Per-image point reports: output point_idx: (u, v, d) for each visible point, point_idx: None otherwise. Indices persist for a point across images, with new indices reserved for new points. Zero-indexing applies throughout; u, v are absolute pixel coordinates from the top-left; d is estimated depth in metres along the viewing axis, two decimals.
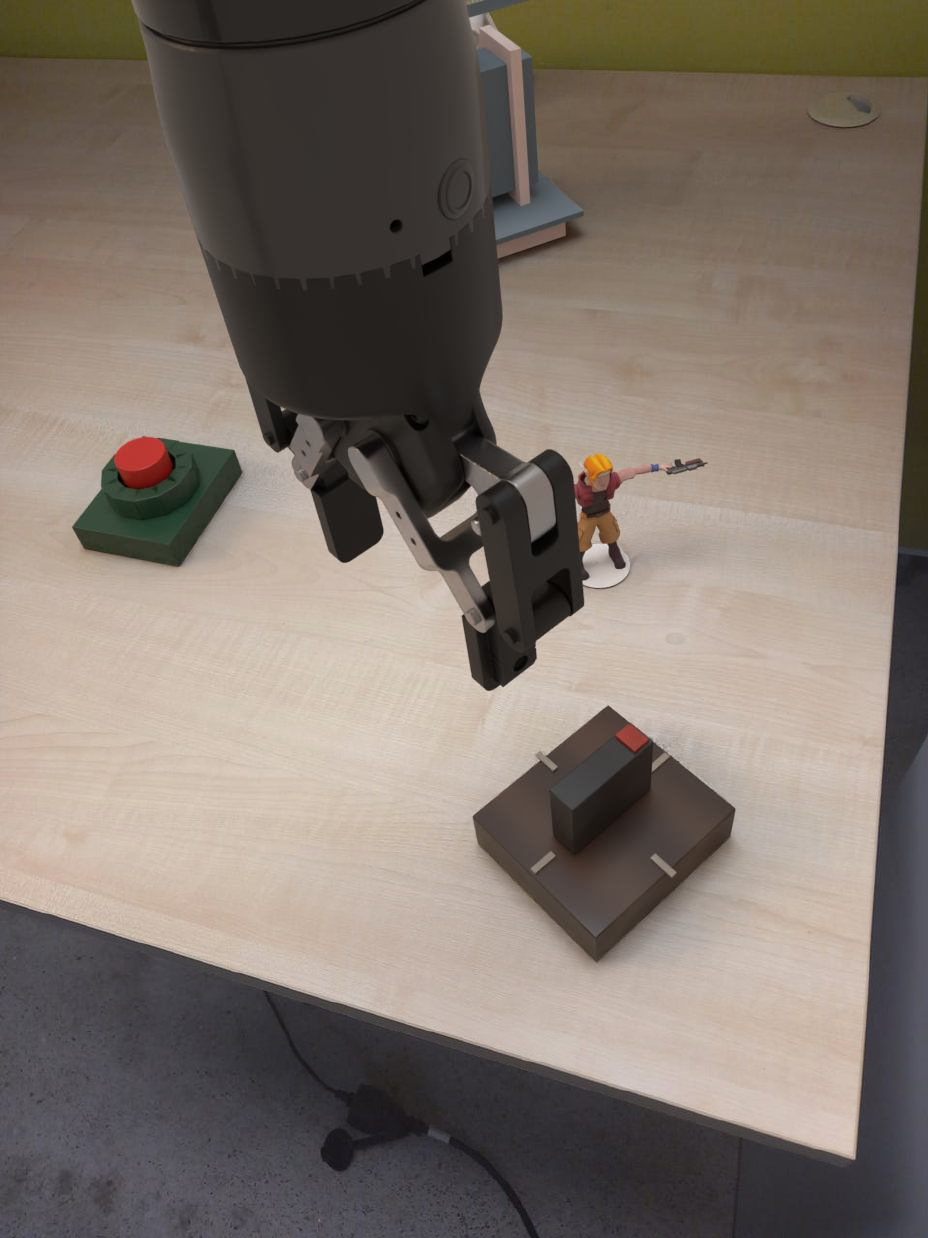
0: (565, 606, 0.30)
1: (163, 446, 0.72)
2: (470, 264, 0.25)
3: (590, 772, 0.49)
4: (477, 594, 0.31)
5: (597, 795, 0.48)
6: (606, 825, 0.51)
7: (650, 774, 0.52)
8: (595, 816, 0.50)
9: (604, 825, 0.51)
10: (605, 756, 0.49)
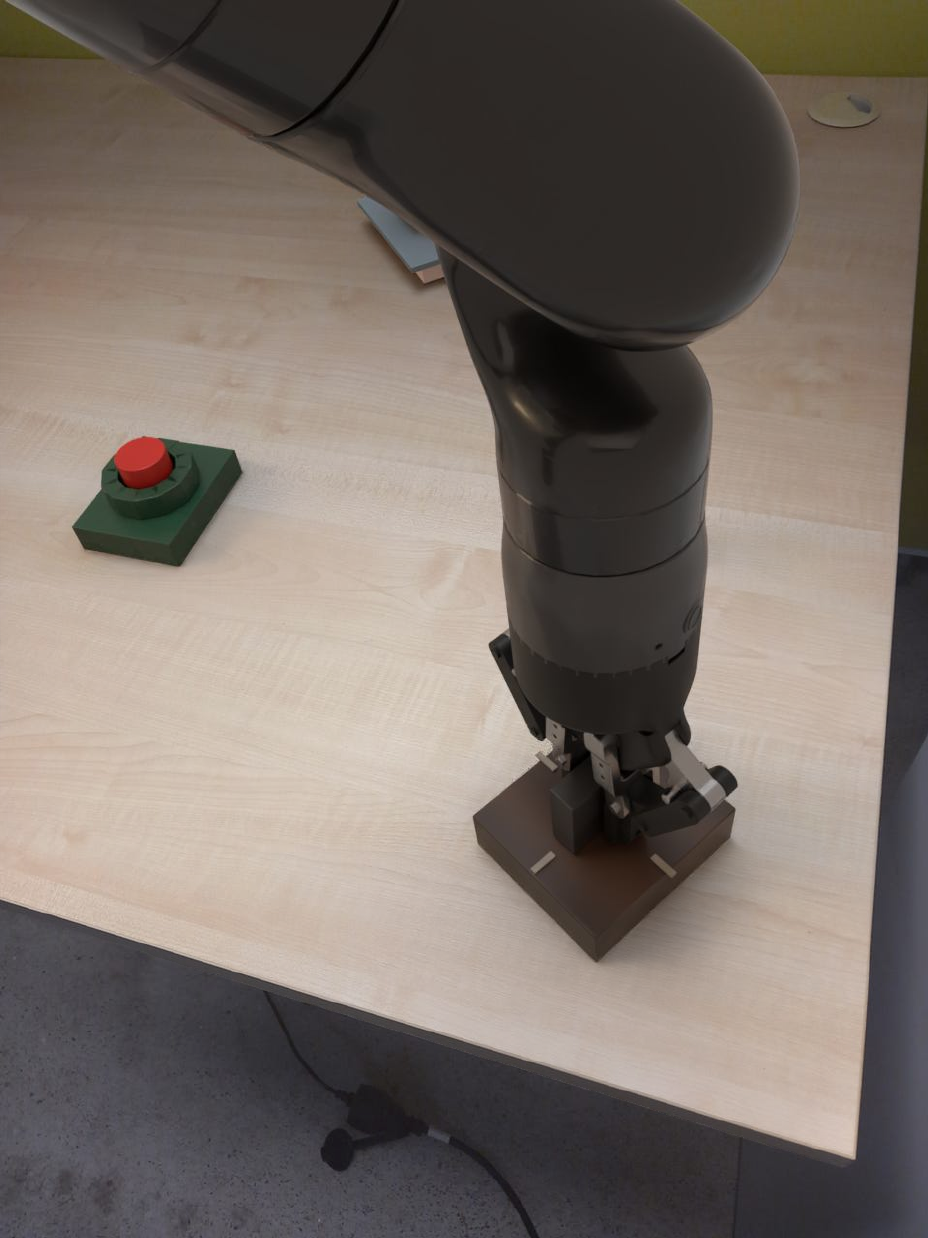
0: None
1: (163, 446, 0.72)
2: (691, 646, 0.39)
3: (590, 772, 0.49)
4: None
5: (597, 795, 0.48)
6: None
7: None
8: (595, 816, 0.50)
9: None
10: None
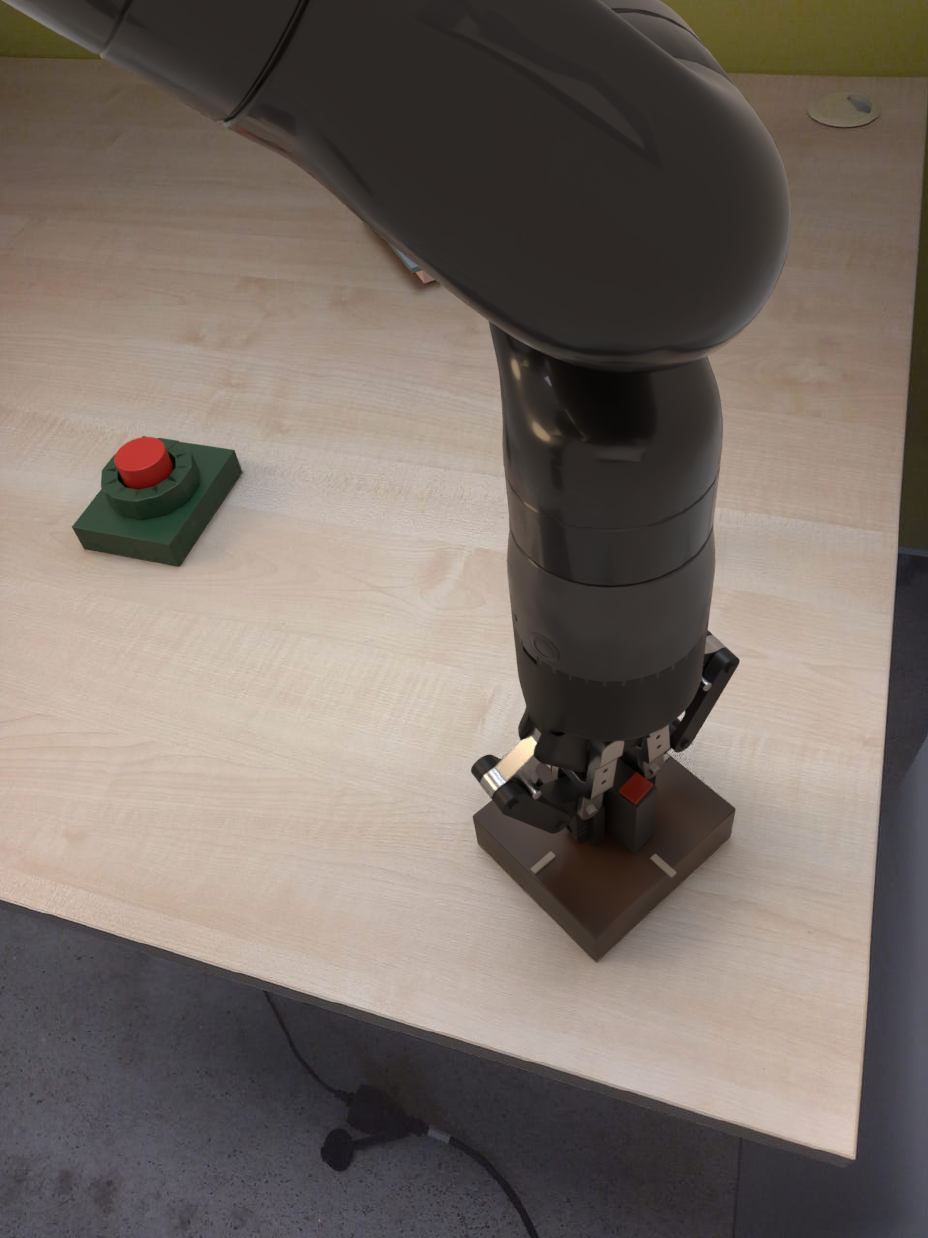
0: None
1: (163, 446, 0.72)
2: (552, 682, 0.38)
3: None
4: None
5: None
6: None
7: (633, 837, 0.49)
8: None
9: None
10: None
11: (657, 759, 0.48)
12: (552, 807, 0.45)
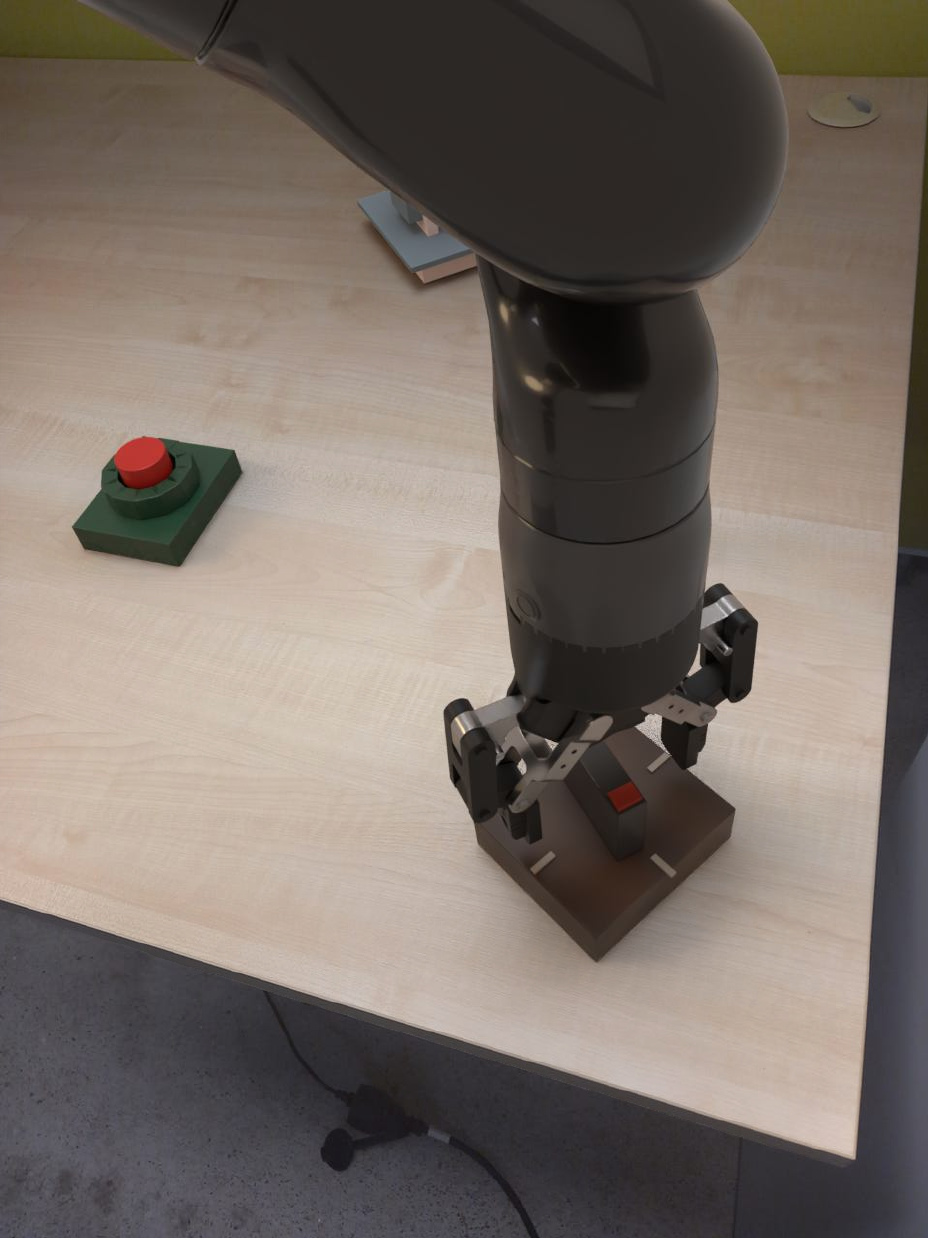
0: (467, 803, 0.44)
1: (163, 446, 0.72)
2: (535, 644, 0.38)
3: (596, 753, 0.49)
4: None
5: None
6: (583, 808, 0.52)
7: (615, 844, 0.49)
8: (575, 776, 0.51)
9: (582, 804, 0.52)
10: (610, 770, 0.49)
11: (709, 706, 0.46)
12: (496, 785, 0.43)
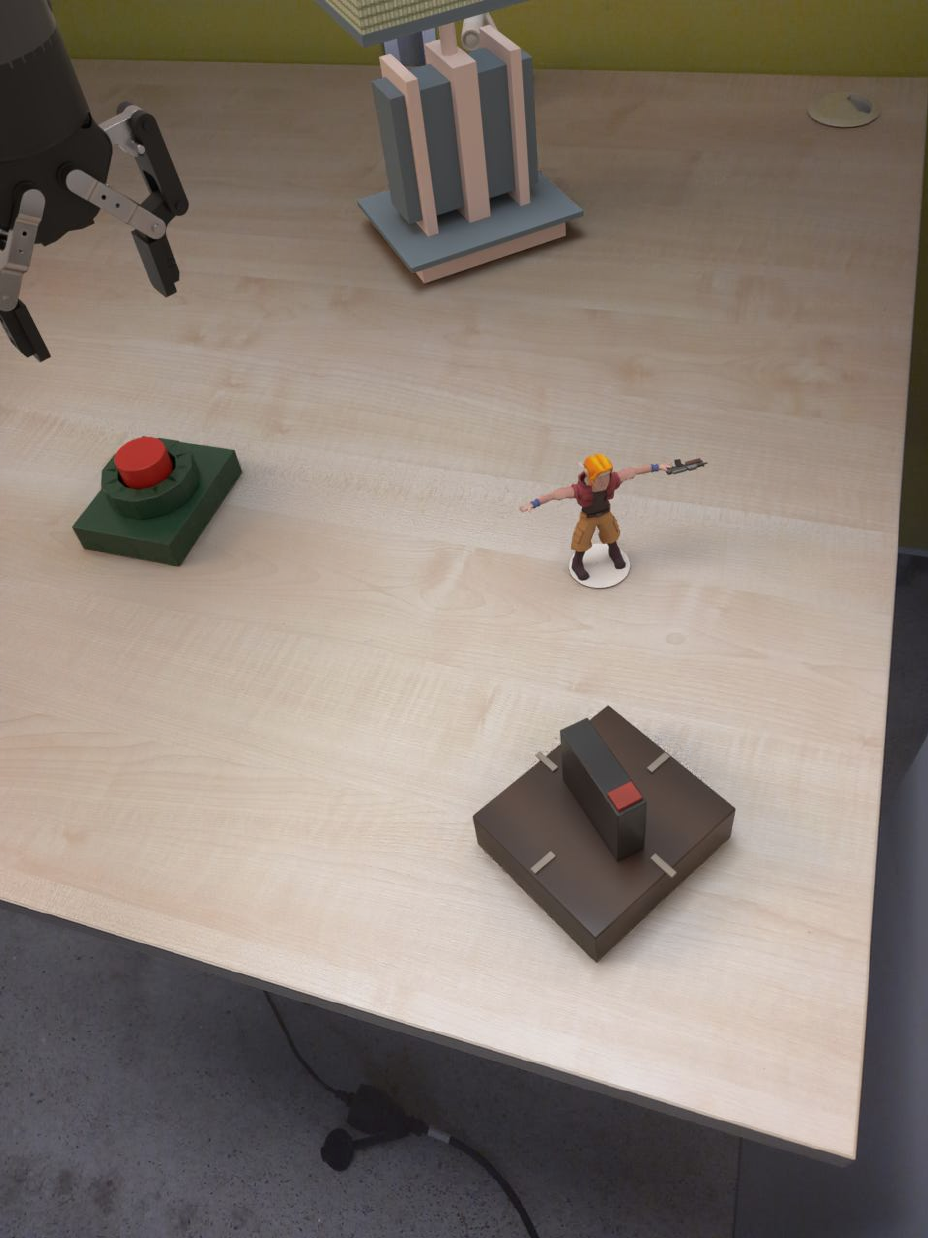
0: None
1: (163, 446, 0.72)
2: None
3: (596, 753, 0.49)
4: None
5: (575, 760, 0.50)
6: (583, 808, 0.52)
7: (615, 844, 0.49)
8: (575, 776, 0.51)
9: (582, 804, 0.52)
10: (610, 770, 0.49)
11: (153, 214, 0.59)
12: None
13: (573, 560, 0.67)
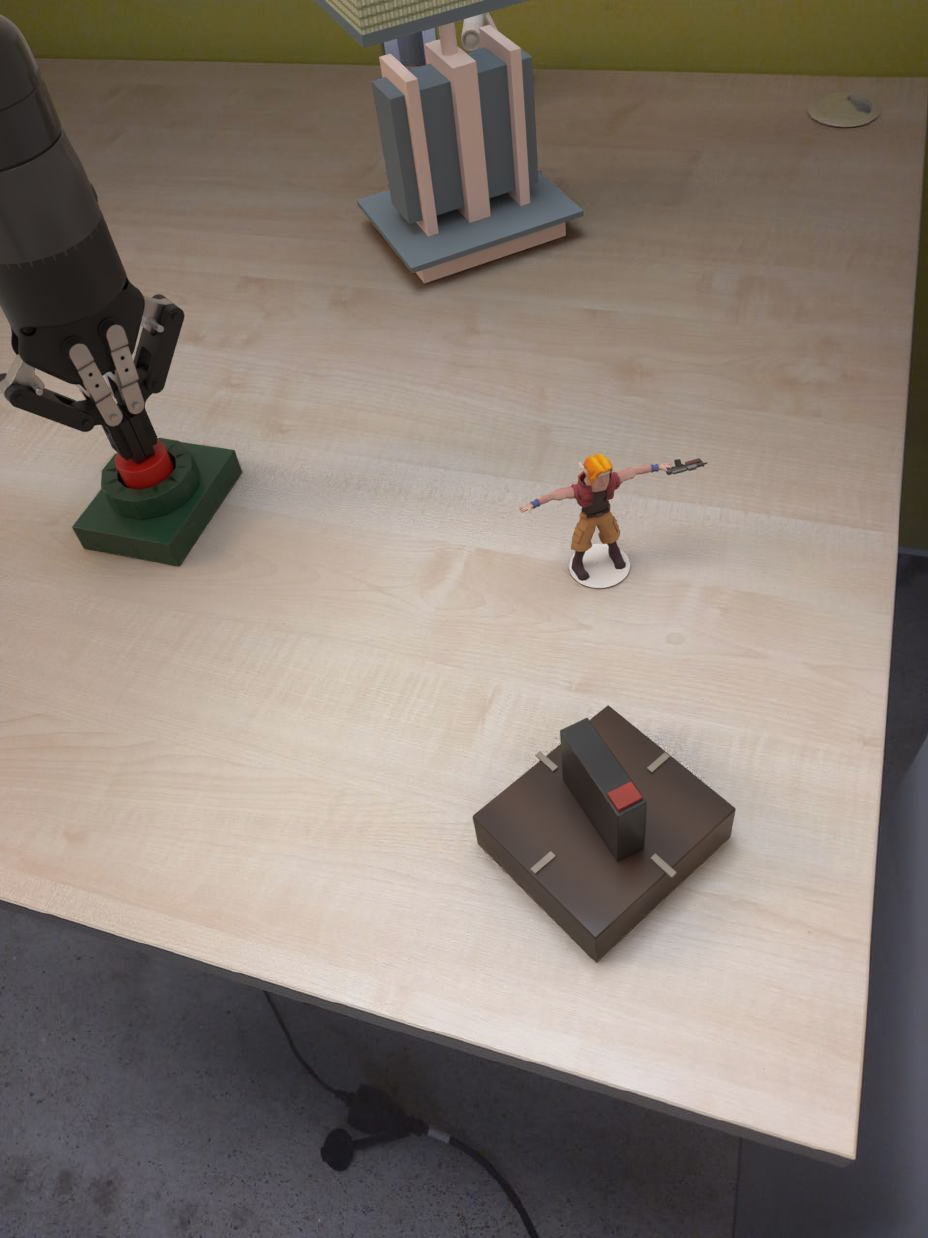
0: None
1: (164, 447, 0.72)
2: None
3: (596, 753, 0.49)
4: None
5: (575, 760, 0.50)
6: (583, 808, 0.52)
7: (615, 844, 0.49)
8: (575, 776, 0.51)
9: (582, 804, 0.52)
10: (610, 770, 0.49)
11: (133, 394, 0.67)
12: (65, 405, 0.65)
13: (573, 560, 0.67)
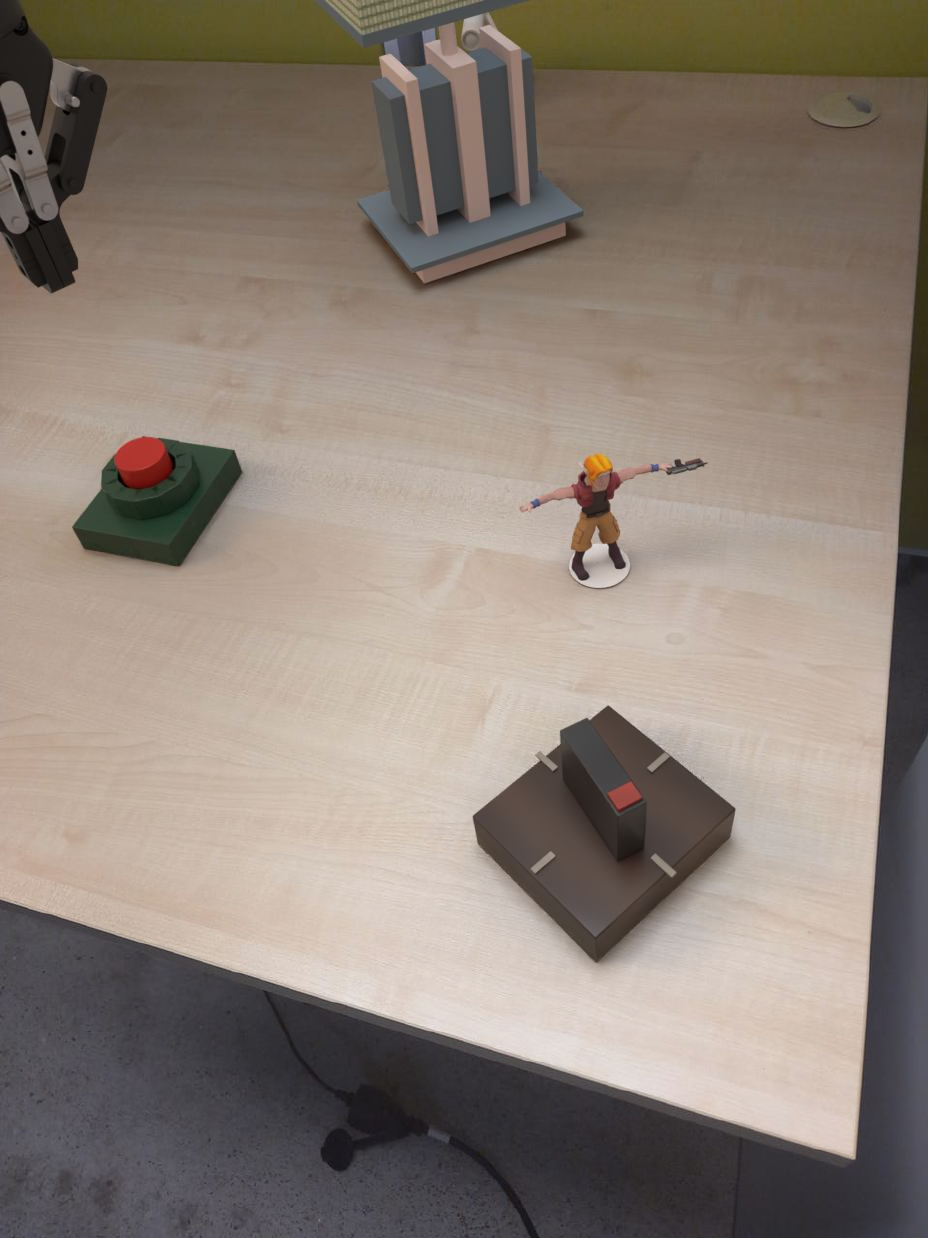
0: None
1: (163, 446, 0.72)
2: None
3: (596, 753, 0.49)
4: None
5: (575, 760, 0.50)
6: (583, 808, 0.52)
7: (615, 844, 0.49)
8: (575, 776, 0.51)
9: (582, 804, 0.52)
10: (610, 770, 0.49)
11: (42, 192, 0.52)
12: None
13: (573, 560, 0.67)
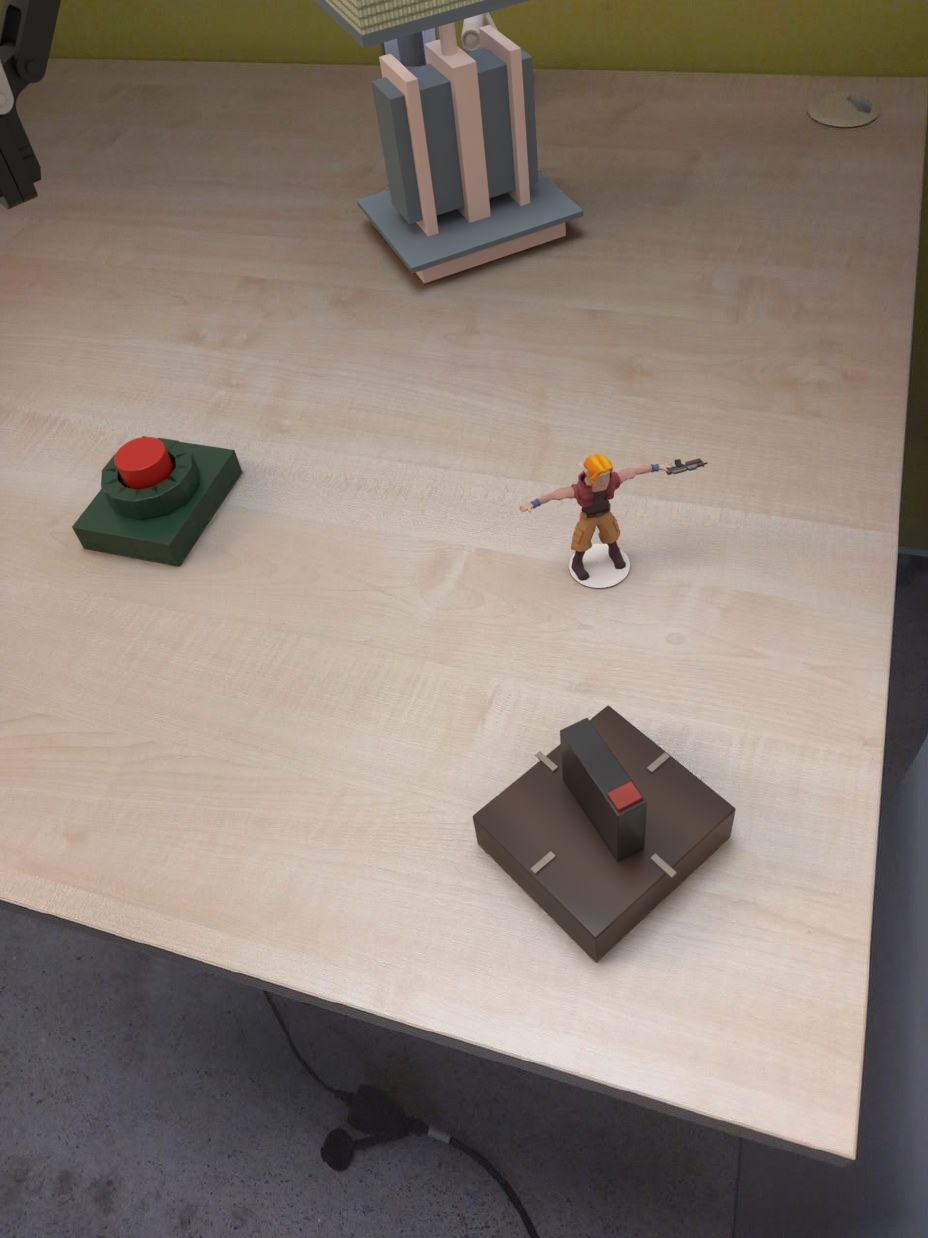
0: None
1: (163, 446, 0.72)
2: None
3: (596, 753, 0.49)
4: None
5: (575, 760, 0.50)
6: (583, 808, 0.52)
7: (615, 844, 0.49)
8: (575, 776, 0.51)
9: (582, 804, 0.52)
10: (610, 770, 0.49)
11: None
12: None
13: (573, 560, 0.67)
